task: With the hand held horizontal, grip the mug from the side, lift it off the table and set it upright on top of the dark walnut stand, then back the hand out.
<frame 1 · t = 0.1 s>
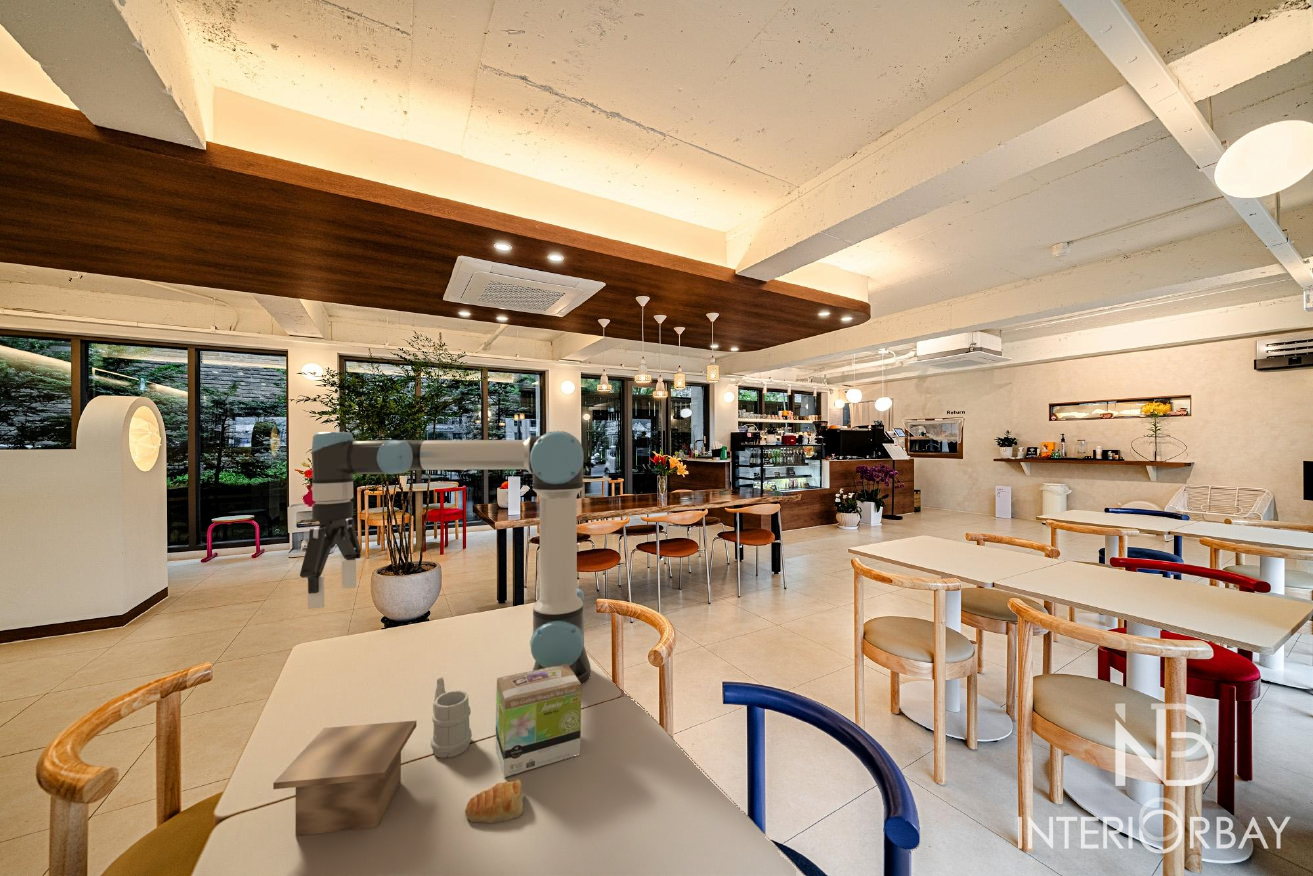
hand: (333, 597, 105), 28 cm above the table, tool pointing down, fingers open, 13 cm apart
tea box: (538, 753, 95), on the table
pastry: (499, 812, 80), on the table
mug: (447, 743, 98), on the table
walnut stand: (351, 807, 81), on the table
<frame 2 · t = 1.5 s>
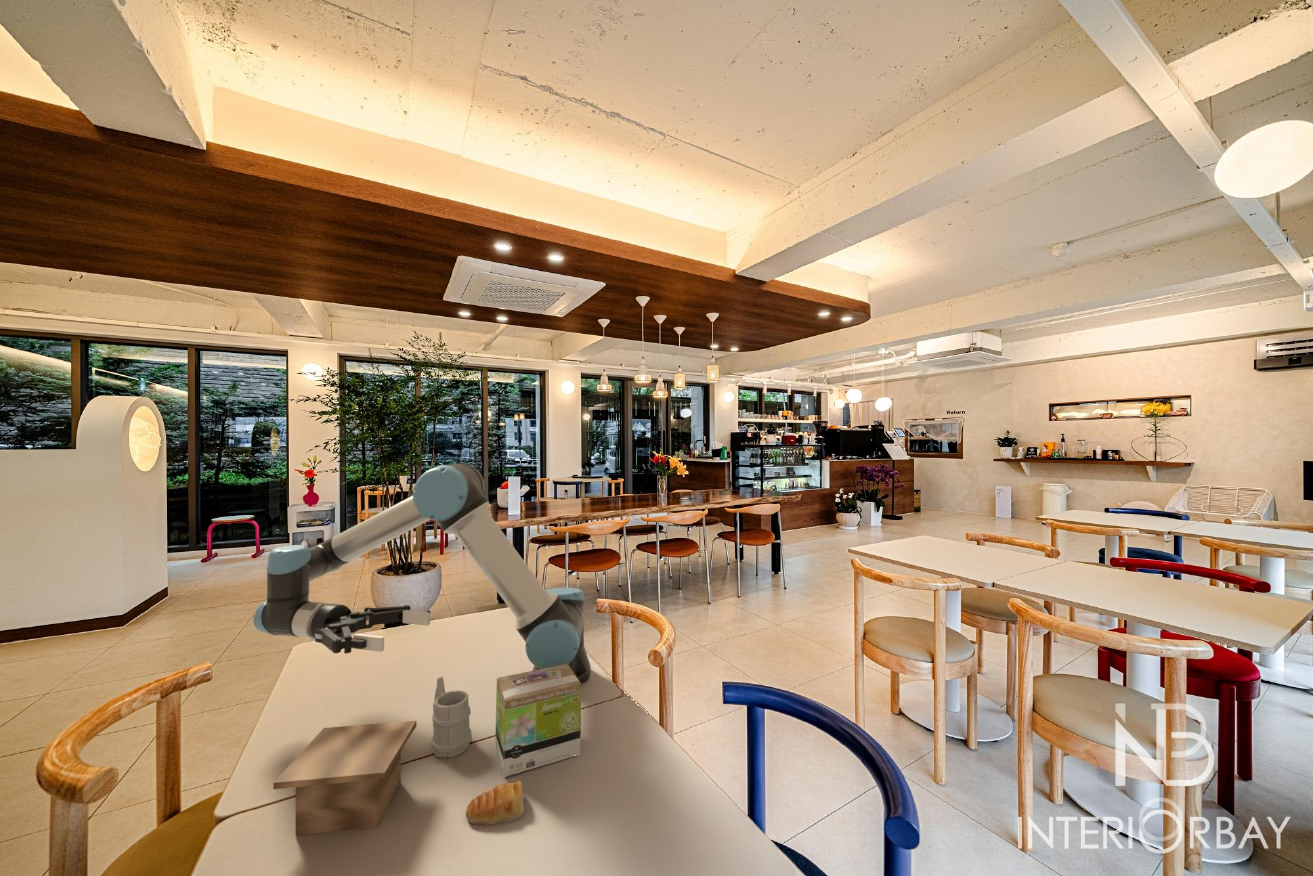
hand: (407, 630, 100), 22 cm above the table, tool horizontal, fingers open, 13 cm apart
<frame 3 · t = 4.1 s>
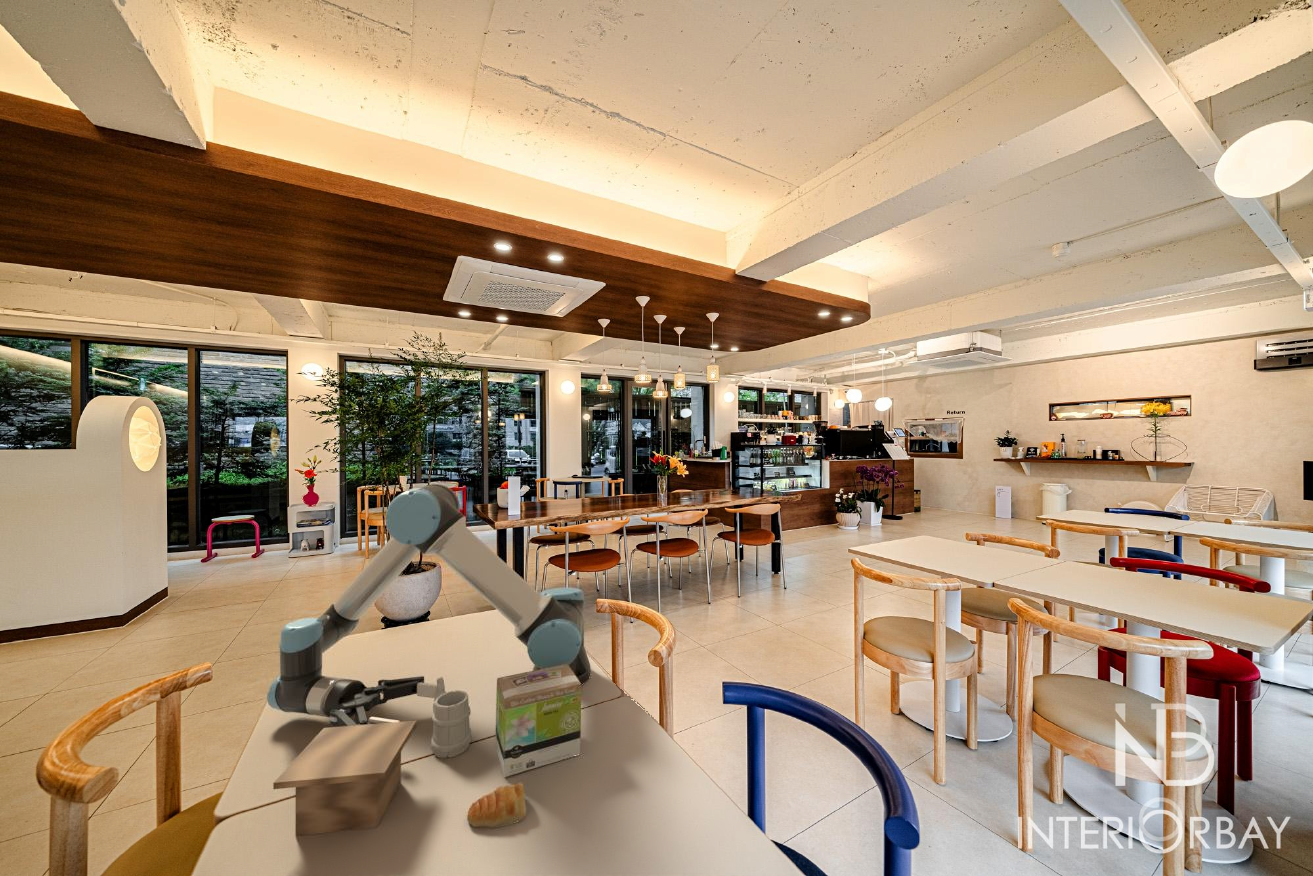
hand: (422, 709, 99), 6 cm above the table, tool horizontal, fingers open, 13 cm apart
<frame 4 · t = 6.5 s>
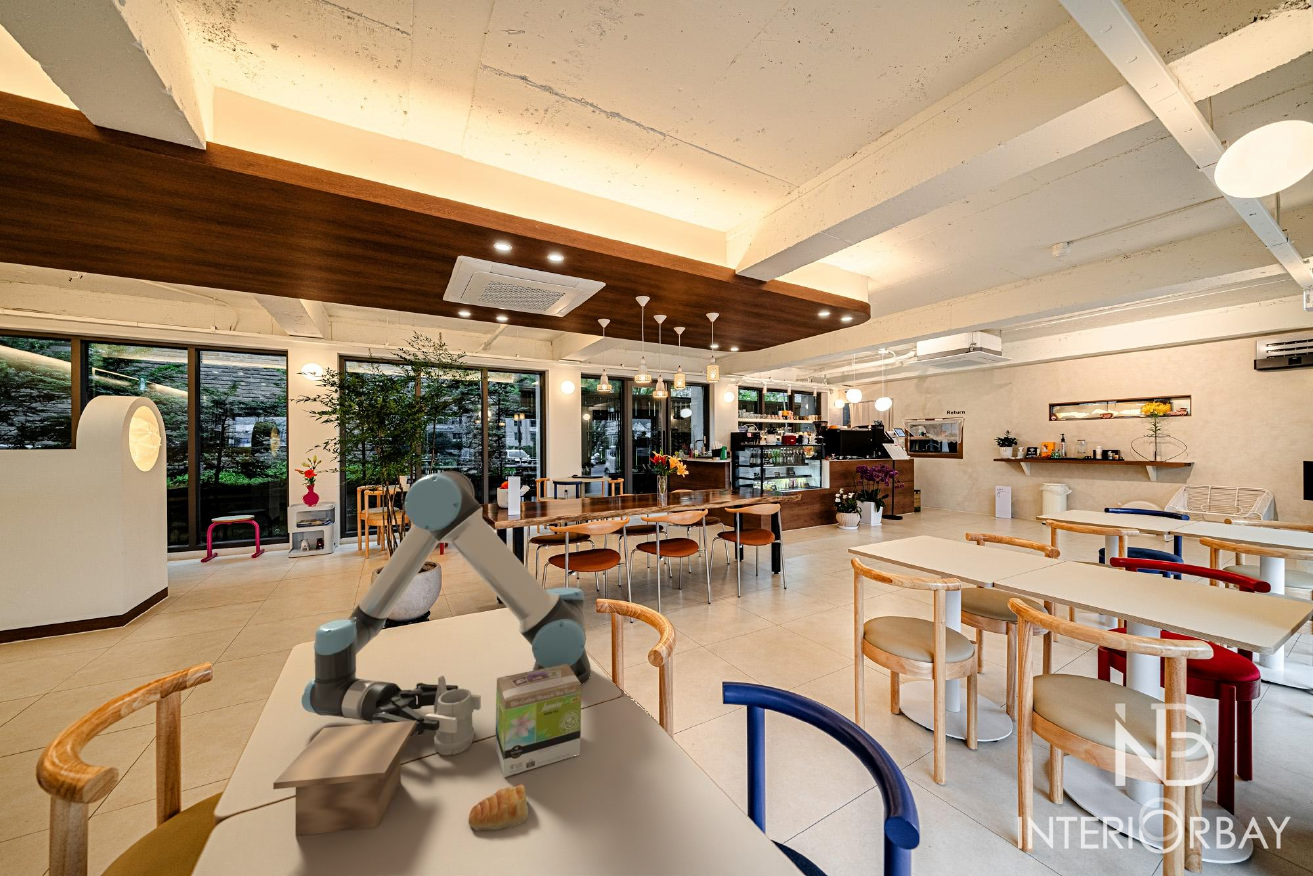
hand: (468, 713, 97), 7 cm above the table, tool horizontal, fingers closed on mug, 7 cm apart
mug: (449, 741, 99), on the table, touching gripper
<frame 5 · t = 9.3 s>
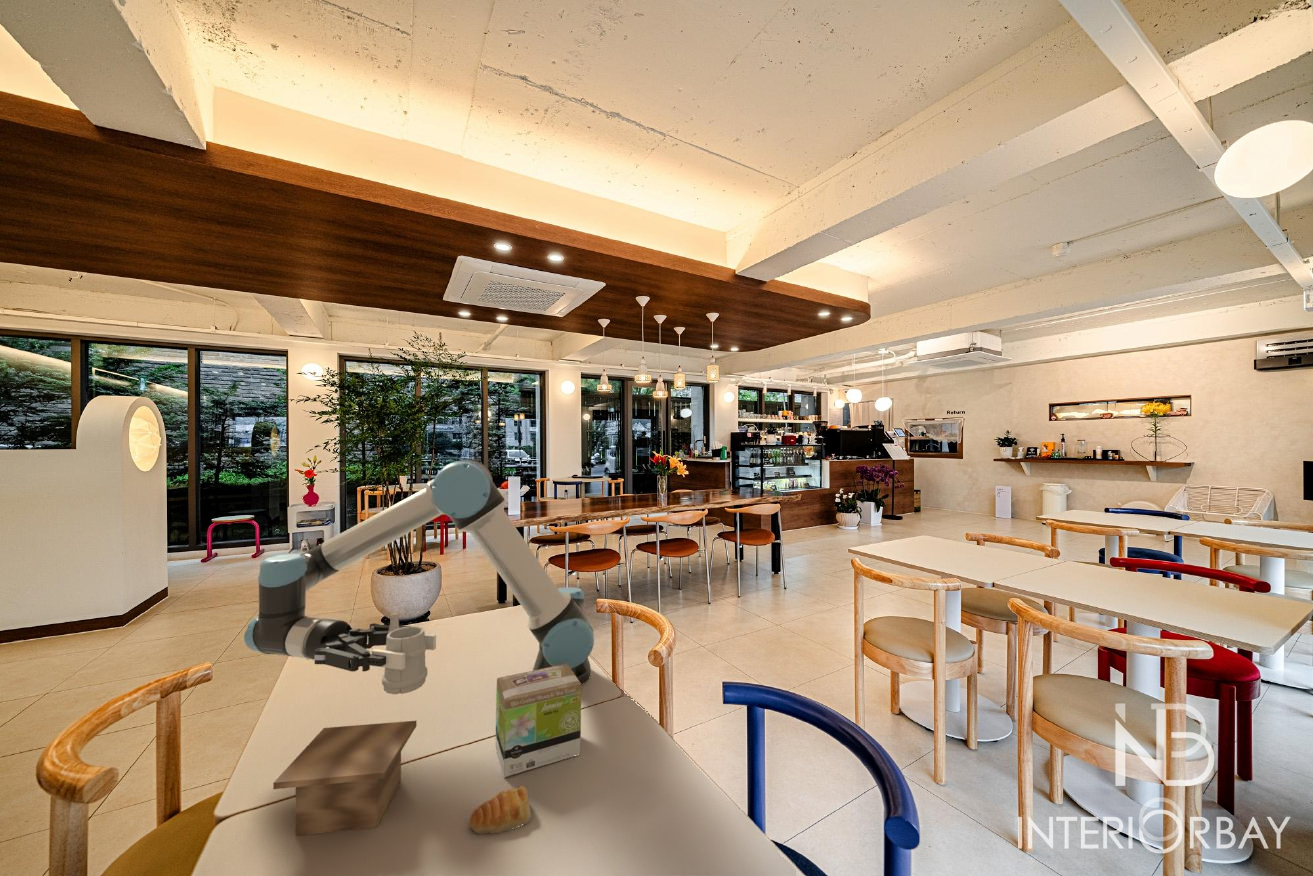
hand: (419, 651, 89), 23 cm above the table, tool horizontal, fingers closed on mug, 7 cm apart
mug: (400, 682, 91), point 16 cm above the table, touching gripper
when the fingers open (17 cm above the table, at t = 11.7 s): mug stays where it is, resting on walnut stand.
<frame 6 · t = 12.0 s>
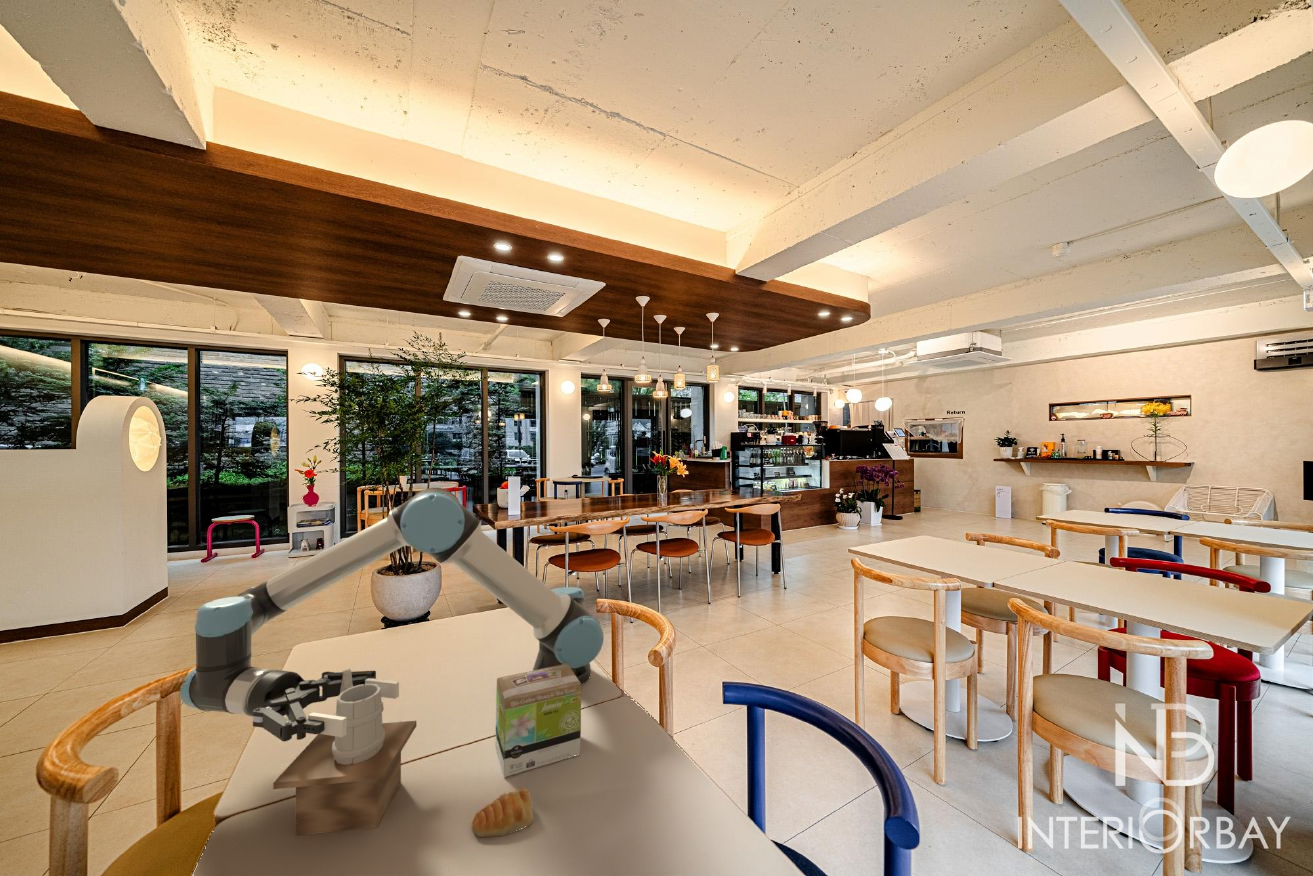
hand: (372, 707, 80), 17 cm above the table, tool horizontal, fingers open, 10 cm apart
mug: (354, 747, 81), point 10 cm above the table, touching walnut stand
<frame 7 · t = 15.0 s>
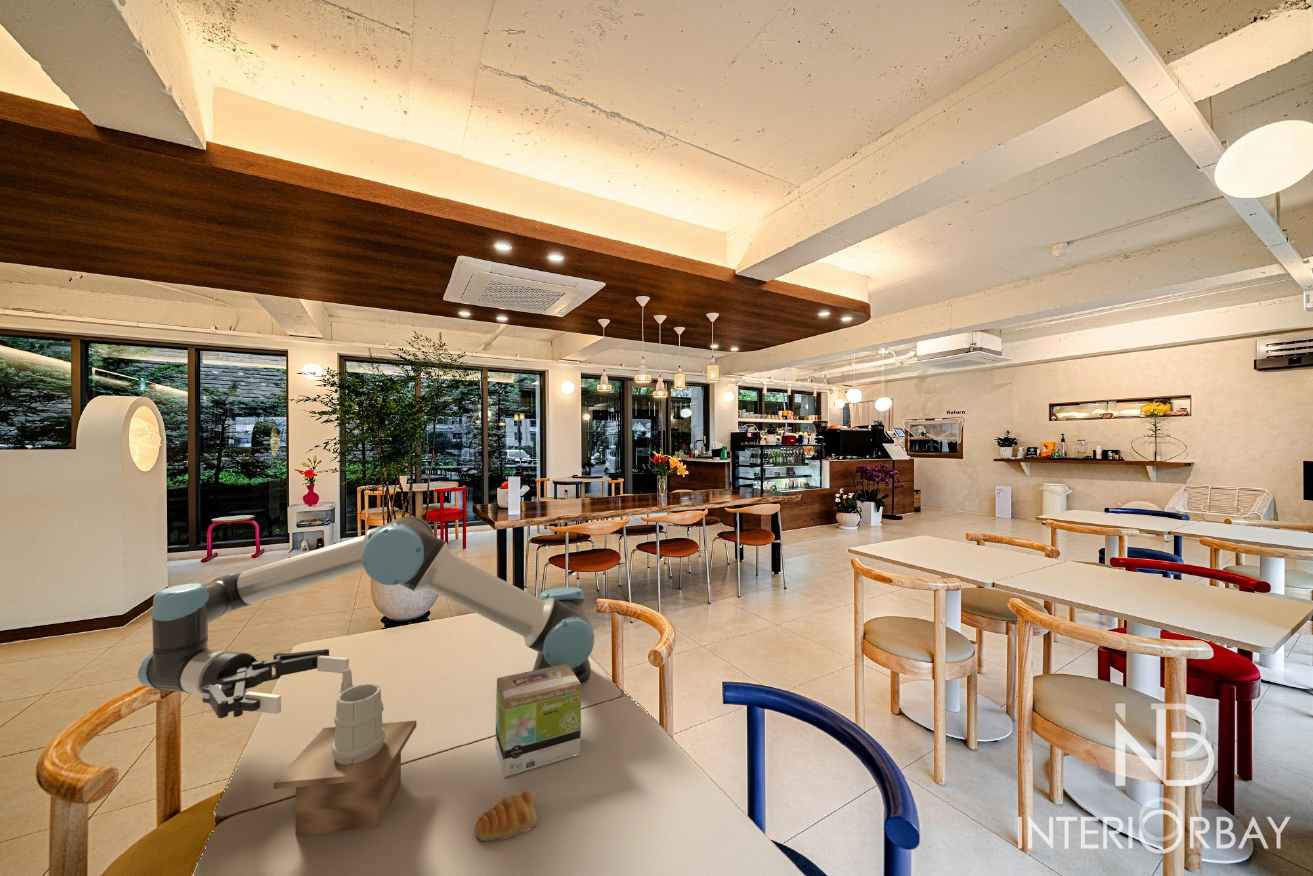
hand: (316, 683, 85), 19 cm above the table, tool horizontal, fingers open, 13 cm apart
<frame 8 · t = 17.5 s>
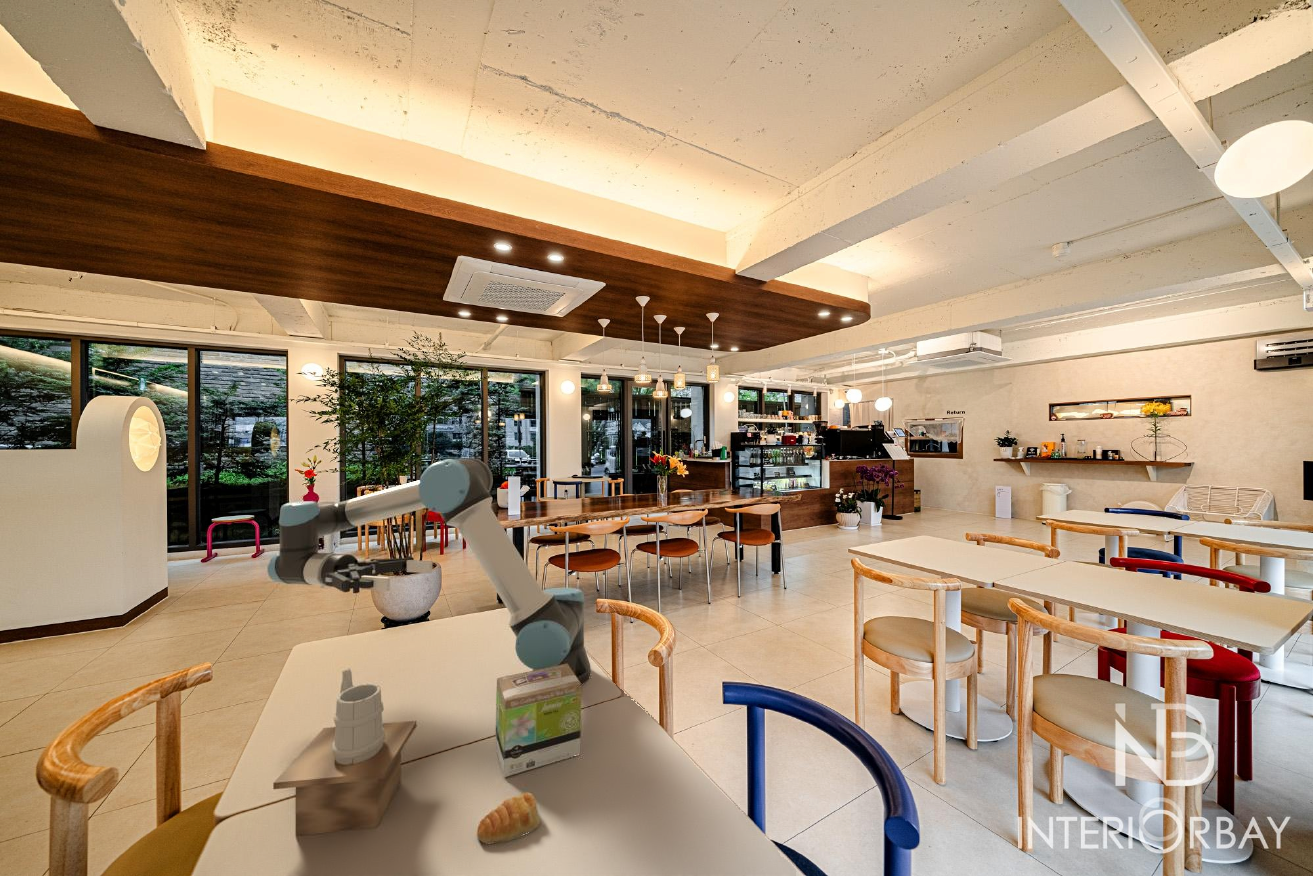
hand: (411, 575, 108), 32 cm above the table, tool horizontal, fingers open, 13 cm apart
at the end: mug inside the target area on the walnut stand (0.6 cm from its centre), point 9.8 cm above the walnut stand's base; mug tilted 0°; the gripper is holding nothing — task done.
